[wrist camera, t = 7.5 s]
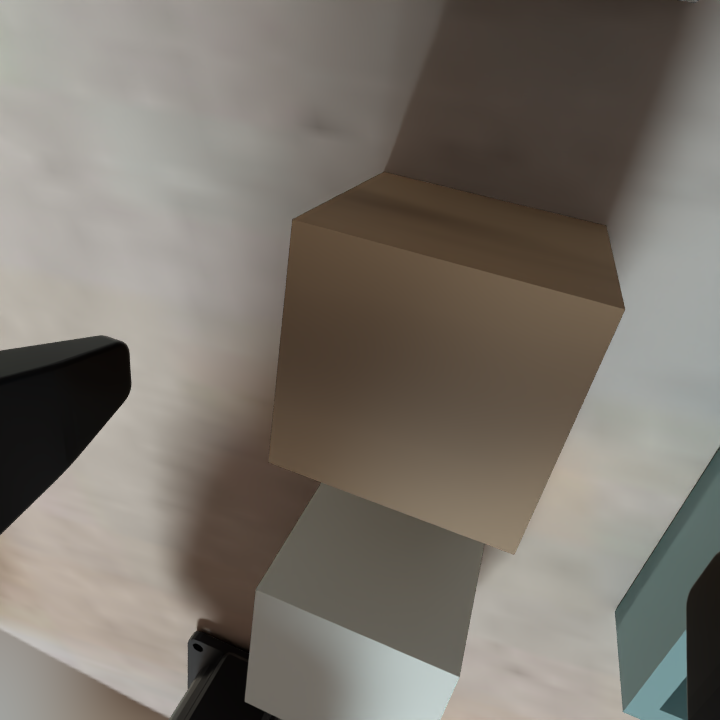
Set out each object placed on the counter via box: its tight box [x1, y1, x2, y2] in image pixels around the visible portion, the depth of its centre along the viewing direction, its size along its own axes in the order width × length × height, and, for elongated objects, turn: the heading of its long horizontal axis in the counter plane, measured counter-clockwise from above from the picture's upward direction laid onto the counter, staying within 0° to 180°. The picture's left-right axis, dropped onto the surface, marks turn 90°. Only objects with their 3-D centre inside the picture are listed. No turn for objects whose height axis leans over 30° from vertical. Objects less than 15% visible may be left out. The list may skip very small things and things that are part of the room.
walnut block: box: [268, 172, 625, 555], centre depth 11 cm, size 5×5×5 cm
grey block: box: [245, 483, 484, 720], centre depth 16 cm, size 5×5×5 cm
